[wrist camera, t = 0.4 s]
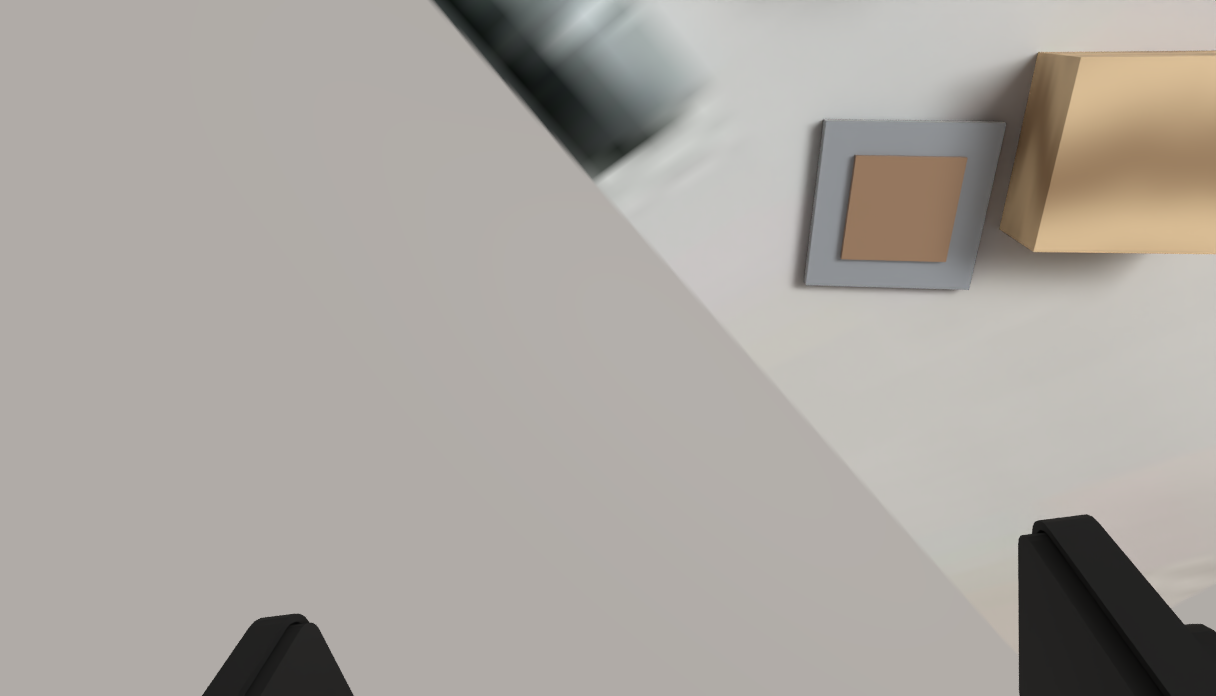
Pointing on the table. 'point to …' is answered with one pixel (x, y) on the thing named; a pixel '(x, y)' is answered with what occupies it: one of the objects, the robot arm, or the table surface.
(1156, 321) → the table surface
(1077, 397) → the table surface
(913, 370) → the table surface
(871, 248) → the swatch tile
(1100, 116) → the oak base
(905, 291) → the table surface
